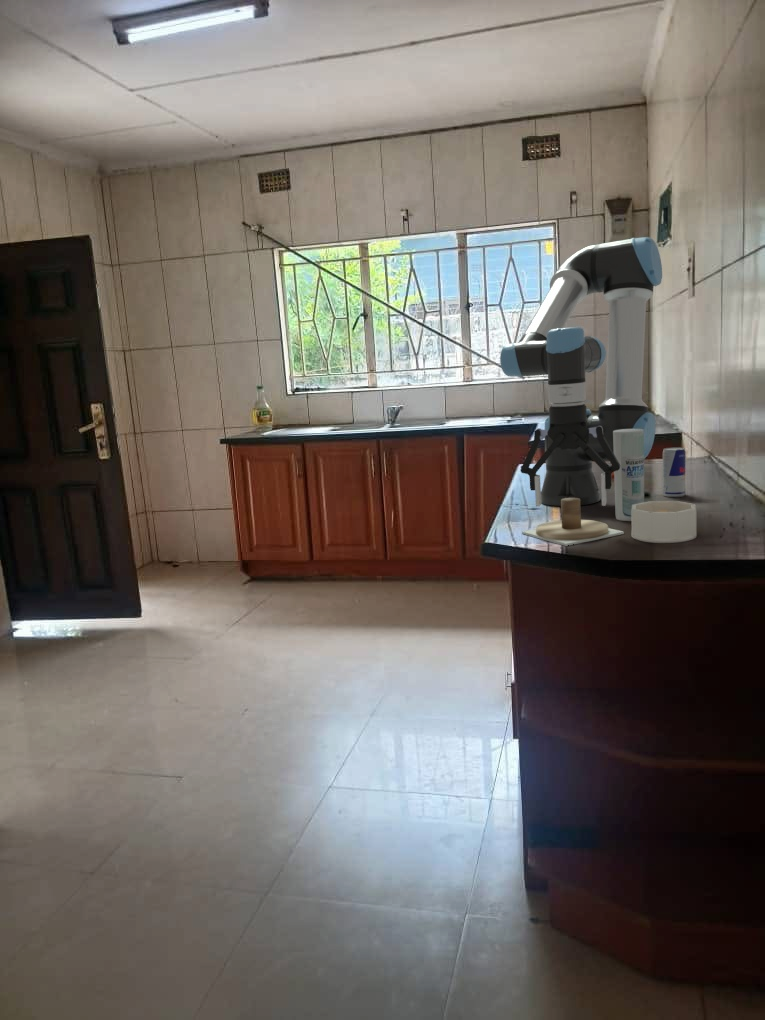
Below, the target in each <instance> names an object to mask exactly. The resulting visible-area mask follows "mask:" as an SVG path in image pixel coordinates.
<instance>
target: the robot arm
mask: <svg viewBox="0 0 765 1020" xmlns="http://www.w3.org/2000/svg"><path fill="white" fill-rule="evenodd" d="M662 266H663V265H662V260H661V254H660V251H659V249H658V245H657V243H656V242H655V241H654V239H653V238H651V237H649V236H646V237H645V236H644V237H643V236H642V237H631V238H630V239H629V238H627V239H623V240H622V239H621V240H616V241H611V242H603V243H598V244H591V245H588V246H586V247H583V248H582V249H580V250H578V251H576V252H575V253H574V254H572V255H571V256H569V257H568V258H567V259H566V260H565V261H564V262H562V263H561V265H559V266H558V268H557V269H556V271H554V274H553V275H552V277H551V278H550V281H549V290H548V291H547V293H546V295H545V297H544V298H543V300H542V302H541V304H540V305H539V307H538V309H537V311H536V312H535V314H534V316H533V318H532V319H531V320H530V322H529V324H528V325H527V328H526V329H525V331H524V333H523V335H522V337H521V338H520V340H518V342H512V343H507V344H505V345H504V346H503V347H502V348H501V351H500V356H499V362H500V363H499V364H500V367H501V369H502V373H503V374H504V375H505V376H506V377H509V378H510V377H513V378H514V377H520V378H523V377H535V376H547V381H548V382H547V384H548V388H547V389H548V404H551V406H549V408H548V415H549V416H548V417H546V418H545V421H544V429H541V428H537V429H535V430H534V434H533V441H532V444H531V446H530V448H529V451H528V452H527V455H526V457H525V459H524V461H523V464H522V465H521V468H520V473H521V474H526V475H528V477H529V489H530V491H534V495H535V496H534V497H535V507H540V506H541V505H542V504H543V505H547V506H555V507H557V506H558V507H561V499H564V498H579V499H580V506H585V505H591V504H595V503H599V501H600V500H601V507H602V506H603V507H604V506H605V507H606V505H607V490H611V488H612V483H613V482H612V473H614V471H618V470H619V469H620V464H619V462H618V460H617V458H616V457H615V455H614V446H613V431H615V430H621V429H643V430H644V459H646V457H648V456H649V454H650V453H651V451H652V450H651V449H652V447H653V445H654V440H655V436H656V435H655V434H656V417H655V415H654V414H653V413H651V412H649V410H648V409H649V406H648V405H647V404H646V403H645V402H644V401H643V397H642V396H643V382H644V381H643V379H644V377H643V375H644V356H645V355H644V354H645V334H646V332H645V331H646V312H647V311H646V310H647V309H646V308H647V302H648V300H650V298H652V297H653V295H654V287H658V286H659V285H661V284H662V280H663V267H662ZM596 293H603V296H602V297H603V298H604V300H605V301H606V302H608V305H609V307H608V309H609V310H608V326H607V327H608V330H607V333H608V335H607V350H606V347H605V345H604V343H603V342H602V341H601V340H600V339H598V338H597V337H593V336H589V335H587V336H585V331H584V328H583V327H580V326H573V327H572V326H571V327H565V326H566V325H567V323H568V321H569V319H570V317H571V315H572V314H573V312H574V310H575V308H576V306H577V304H579V303H581V302H582V301H583V300H584V299H585V298H586V296H588V295H591V294H596ZM606 351H607V352H606ZM605 359H606V377H605V381H606V382H605V398H604V399H605V400H603V401H602V402H601V403H600V404H599V406H598V413H597V414H592V413H593V412H592V411H591V409H590V408H587V405H586V404H584V402H586V401H587V384H586V383H587V382H586V373H592V372H594V371H596V370H598V369H599V368H601V366H602V365H603V364H604V363H605ZM543 440H544V453H543V454H542V456H541V457H540V458H539V459H538V460H537V462H536V463H535V464H534V466H533V467H530V466H531V464H532V461H533V460H534V457H535V455H536V453H537V450H538V448H539V445H540V444H541V442H542V441H543ZM593 462H594V463H595V464H596V465H597V466H598V467H599V468H600V469H601V470H602V471H603V472H601V474H600V480H601V483H600V484H601V489H599V486H598V483H597V479H596V476H595V475H594V472H593ZM607 462H609V463H610V465H609V463H607ZM544 463H545V476H544V480H543V483H542V487H541V475H540V474H537V472H538V471H540V468H542V466H543V465H544ZM600 491H601V492H600Z"/></svg>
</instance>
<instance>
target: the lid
mask: <svg viewBox="0 0 765 1020" xmlns="http://www.w3.org/2000/svg"><path fill="white" fill-rule="evenodd" d="M581 506H582V505H580V499H579V498H564V499H561V506H560V510H561V511H560V512H561V520H553V521H548V522H544V523H543V522H542V523H541V524H540V523H539V525H537V526H535V529H536V534H537V535H538V536H540V537H543V538H548V539H556V540H582V539H590V538H596V537H600V536H603V535H605V534H607V533H608V528H609V526H608V524H607V523H605V522H602V521H599V520H598V521H597V520H593V519H592V520H591V519H582V517H581V516H582V515H581V514H582V513H581V511H582V510H581Z"/></svg>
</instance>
